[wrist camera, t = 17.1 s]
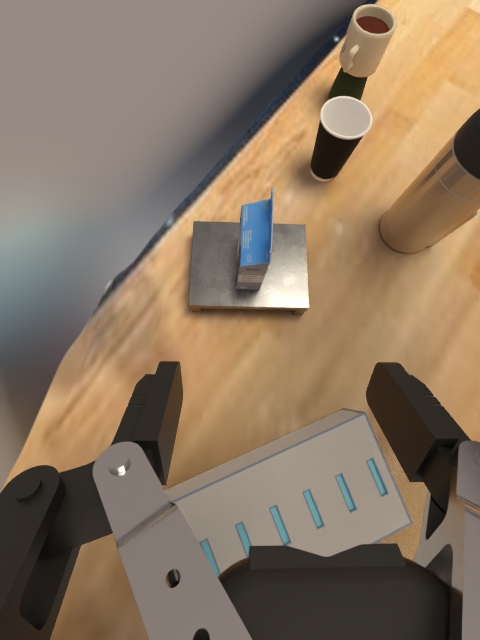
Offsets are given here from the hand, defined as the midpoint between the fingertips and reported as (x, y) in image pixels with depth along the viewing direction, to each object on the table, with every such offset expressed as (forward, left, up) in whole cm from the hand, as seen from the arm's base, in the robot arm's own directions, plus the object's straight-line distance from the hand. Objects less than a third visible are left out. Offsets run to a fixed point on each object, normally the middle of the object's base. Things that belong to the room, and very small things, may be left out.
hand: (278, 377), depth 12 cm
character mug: (-20, -56, -33) cm, 68 cm away
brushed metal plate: (-1, -18, -32) cm, 37 cm away
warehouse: (-4, +16, -33) cm, 37 cm away
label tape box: (-1, -18, -29) cm, 34 cm away
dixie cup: (-15, -39, -33) cm, 53 cm away
